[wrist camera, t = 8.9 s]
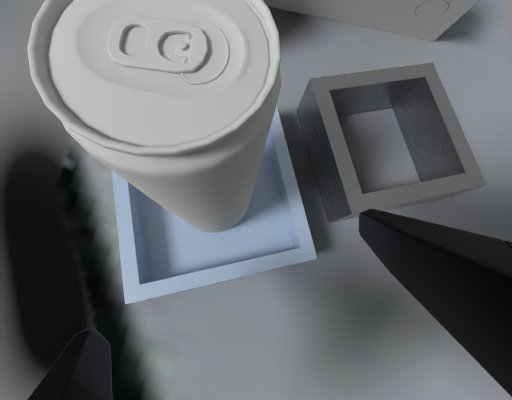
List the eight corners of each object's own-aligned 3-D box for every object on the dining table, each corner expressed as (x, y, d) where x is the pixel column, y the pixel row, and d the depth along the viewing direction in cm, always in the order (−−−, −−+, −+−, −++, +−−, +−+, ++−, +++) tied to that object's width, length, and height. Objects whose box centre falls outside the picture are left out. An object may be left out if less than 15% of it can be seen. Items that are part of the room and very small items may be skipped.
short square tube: (440, 198, 19) (486, 185, 15) (328, 222, 17) (351, 214, 14) (399, 95, 20) (432, 62, 17) (296, 110, 19) (310, 78, 16)
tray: (305, 258, 17) (317, 258, 14) (142, 297, 15) (125, 304, 13) (269, 119, 19) (274, 98, 16) (124, 141, 17) (106, 122, 15)
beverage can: (246, 237, 16) (279, 176, 4) (169, 230, 15) (-25, 142, 4) (253, 167, 17) (295, -35, 5) (182, 158, 17) (61, -75, 5)
